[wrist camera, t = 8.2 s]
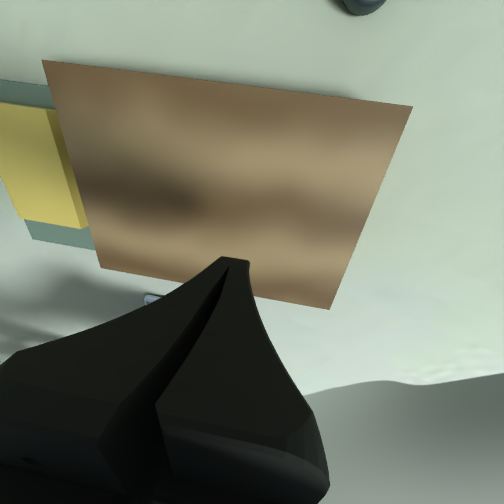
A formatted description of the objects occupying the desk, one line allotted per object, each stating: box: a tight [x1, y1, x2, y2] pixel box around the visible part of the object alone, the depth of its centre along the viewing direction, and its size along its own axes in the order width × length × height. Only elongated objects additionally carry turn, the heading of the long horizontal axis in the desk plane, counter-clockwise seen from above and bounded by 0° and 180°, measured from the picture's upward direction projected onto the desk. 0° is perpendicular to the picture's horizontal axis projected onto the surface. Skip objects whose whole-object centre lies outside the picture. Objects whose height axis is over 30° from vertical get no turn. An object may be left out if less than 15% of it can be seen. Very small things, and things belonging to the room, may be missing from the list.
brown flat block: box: [42, 60, 413, 310], centre depth 16 cm, size 14×20×4 cm
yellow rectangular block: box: [0, 102, 89, 229], centre depth 18 cm, size 9×6×2 cm, turn 173°
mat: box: [0, 80, 95, 250], centre depth 19 cm, size 14×11×1 cm
